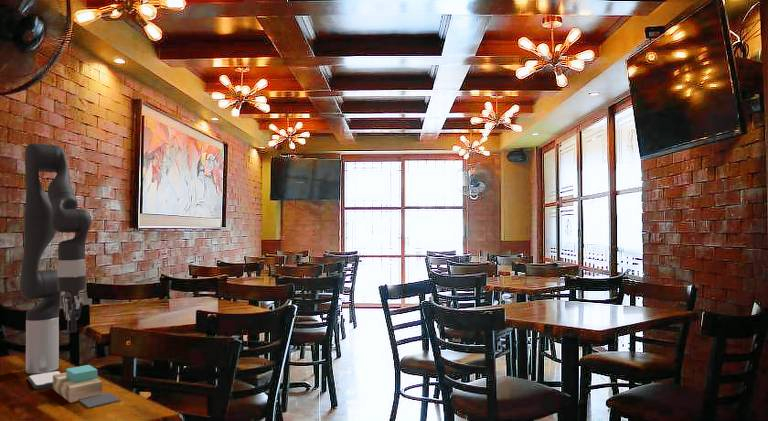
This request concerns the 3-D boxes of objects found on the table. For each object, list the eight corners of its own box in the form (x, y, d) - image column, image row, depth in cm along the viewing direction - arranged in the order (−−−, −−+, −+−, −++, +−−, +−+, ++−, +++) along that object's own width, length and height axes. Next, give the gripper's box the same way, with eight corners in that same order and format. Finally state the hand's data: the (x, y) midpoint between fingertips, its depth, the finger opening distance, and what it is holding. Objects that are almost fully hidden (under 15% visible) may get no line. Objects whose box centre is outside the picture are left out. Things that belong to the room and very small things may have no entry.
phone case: (26, 380, 167) (34, 391, 155) (26, 375, 167) (34, 386, 155) (59, 375, 173) (69, 385, 161) (59, 370, 173) (69, 379, 161)
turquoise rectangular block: (66, 377, 154) (66, 368, 154) (88, 373, 158) (88, 364, 158) (74, 383, 148) (74, 374, 148) (97, 378, 152) (97, 369, 152)
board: (52, 388, 156) (52, 375, 156) (82, 382, 162) (82, 369, 162) (70, 402, 144) (70, 387, 144) (102, 395, 149) (102, 381, 149)
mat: (78, 400, 145) (78, 399, 145) (109, 393, 151) (109, 392, 151) (88, 408, 139) (88, 407, 139) (121, 401, 144) (121, 399, 144)
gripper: (51, 274, 163) (52, 331, 162) (63, 276, 153) (64, 337, 153) (78, 272, 168) (79, 327, 168) (92, 274, 159) (92, 333, 158)
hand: (72, 332), depth 160 cm, fingers closed
